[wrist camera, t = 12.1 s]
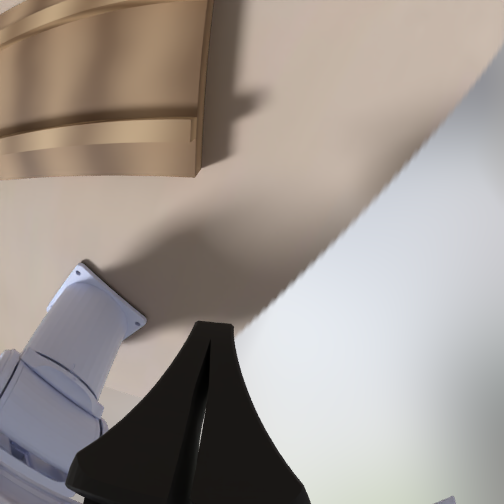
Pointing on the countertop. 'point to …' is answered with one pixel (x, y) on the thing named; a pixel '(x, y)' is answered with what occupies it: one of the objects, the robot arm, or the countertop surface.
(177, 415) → the robot arm
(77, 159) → the brown wooden rack
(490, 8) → the countertop surface
